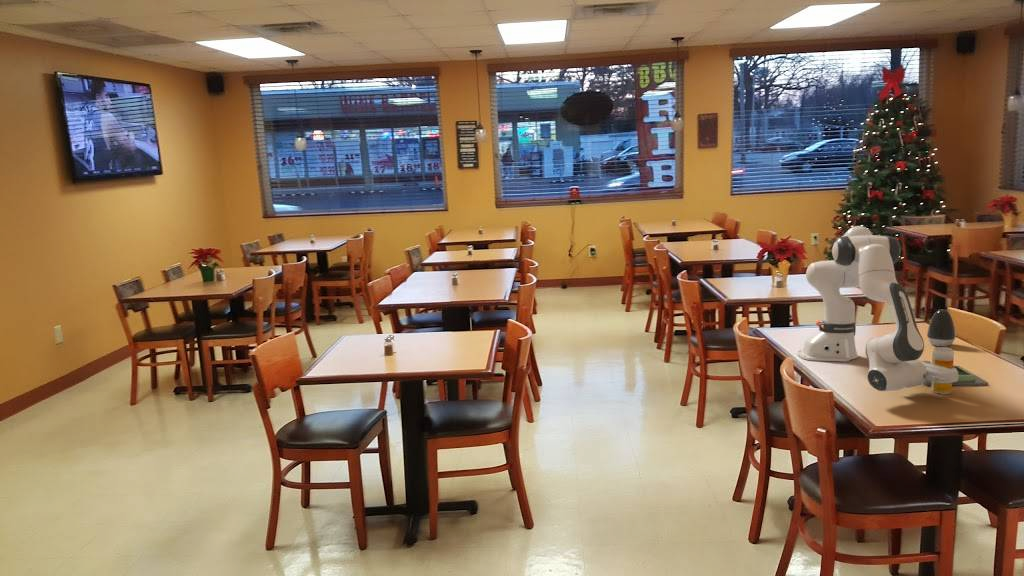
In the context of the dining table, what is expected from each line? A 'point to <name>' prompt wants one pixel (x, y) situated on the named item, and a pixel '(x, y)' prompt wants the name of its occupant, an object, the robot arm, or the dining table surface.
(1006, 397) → the dining table surface
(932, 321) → the dark grey egg shape
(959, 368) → the green and grey tray
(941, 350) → the beer can
